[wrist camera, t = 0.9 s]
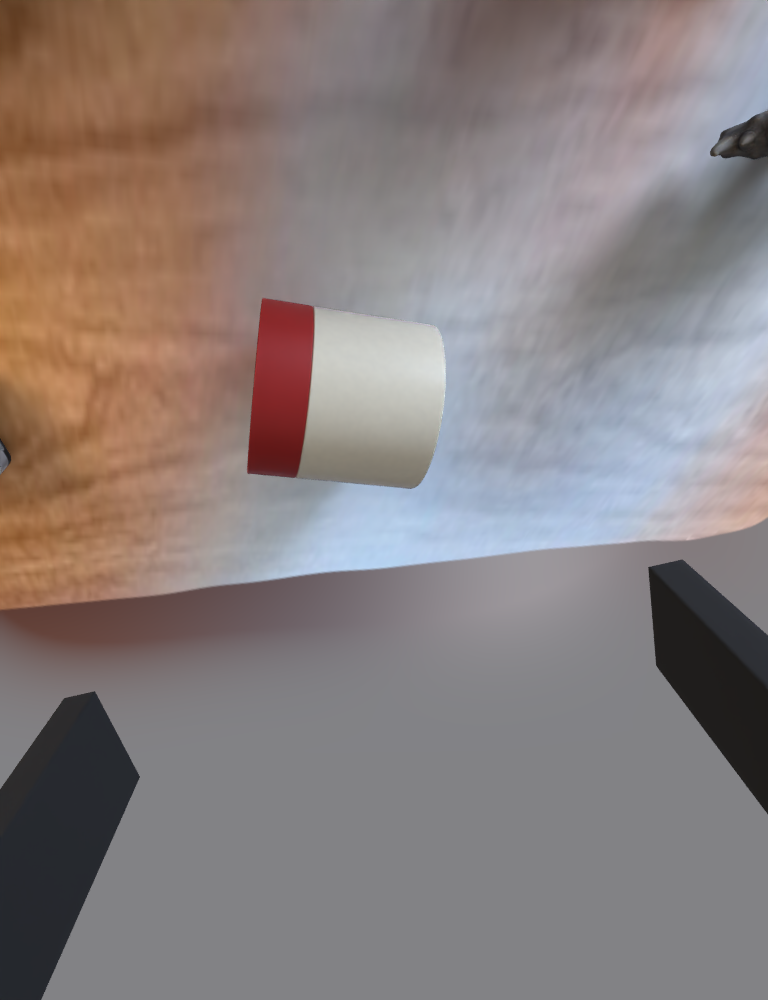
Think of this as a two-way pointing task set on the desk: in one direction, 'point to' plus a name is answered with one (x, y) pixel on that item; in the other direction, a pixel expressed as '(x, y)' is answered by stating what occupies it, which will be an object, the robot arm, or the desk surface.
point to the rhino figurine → (744, 139)
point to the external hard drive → (4, 457)
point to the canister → (345, 396)
